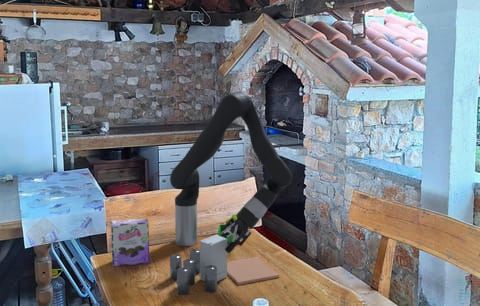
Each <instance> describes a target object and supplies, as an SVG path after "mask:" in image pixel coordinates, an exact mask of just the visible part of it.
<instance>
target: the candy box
mask: <svg viewBox="0 0 480 306" xmlns="http://www.w3.org/2000/svg"><path fill="white" fill-rule="evenodd" d="M149 227H150V226H149V219H148V218H135V219H120V220H110V232H111V233H110V234H111V235H110V237H111V238H110V239H111V244H110V245H111V263H112V267H113V268H114V267H122V266H123V267H124V266H133V265H134V266H135V265H143V264H144V265H145V264H149V263H150V236H149V235H150V232H149V229H150V228H149Z"/></svg>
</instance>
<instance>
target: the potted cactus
mask: <svg viewBox="0 0 480 306" xmlns="http://www.w3.org/2000/svg"><path fill="white" fill-rule="evenodd" d="M236 215H237V214H233V215H231V217H229V218H226V220H225V224H223V223H221V224H219V226H218V229H217V235H218V236H221V234H222V230H221V229H222V228H223V227H224V226H225V225H226V223H227V222H228V221H229V220H230V219H231V218H233V219H234V220H237V217H236ZM225 229H227V227H226V228H225ZM228 233H229V232H228ZM233 237H234V236H233V235H230V236H228V237H227V238H226V239H227V244H230V242H231V241H232V240H233Z"/></svg>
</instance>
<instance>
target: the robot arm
mask: <svg viewBox="0 0 480 306" xmlns="http://www.w3.org/2000/svg"><path fill="white" fill-rule="evenodd" d="M258 114H259V113H258V111H257V110H256V107H255V104H254V102H253V100H252V97H251V96H250V95H249V94H248V93H247V92H246V91H242V90H241V91H234V92H232V93H228V94H225V96H223V98H222V99H221V101H220V102H219V105H218V106H217V107H216V110H215V112H214V113H213V116H212V117H211V118H210V120H209V122H208V123H207V124H206V125H205V127H204V128H203V129H202V131H201V132H200V134H199V135H198V137H197V138H196V140H195V141H194V142H193V144H192V146H191V147H190V148H189V149H188V151H187V152H186V154H185V156H184V157H183V158H182V159H181V161H180V162H178V164H177V165H176V166H175V167H174V168H173V169H172V171H171V173H170V176H169V177H170V178H169V182H170V185H171V187H173V188H174V189H176V190H181V191H180V192H179V193H178V194H177V195H176V197H175V198H174V214H175V216H174V218H175V219H174V221H175V222H174V223H175V224H174V225H175V228H174V229H175V244H176V245H177V246H181V247H191V246H195V245H196V244H197V243H198V199H199V196H200V195H199V194H200V174H199V170H198V168H200V167H201V166H203V165H204V164H205V163H207V162H208V161H209V160H210V159H212V158H213V157H214V156H215V155H216V153H217V152H218V151H219V149H220V148H221V147H222V144H223V143H224V138H225V134H226V131H228V128H229V127H230V126H231V125H232V123H234V122H235V120H237V119H239V118H241V120H243V122H244V124H245V126H246V128H247V130H248V133H249V138H250V140H249V141H250V144H251V147H252V150H253V153H254V154H255V155H256V157H257V159H258V161H259V163H260V164H261V165H262V166H263V167H264V168H266V171H267V172H268V173H269V177H268V178H267V179H266V180H265V182H264V184H262V185H261V187H260V188H259V189H258V190H257V191H255V193H254V194H253V196H251V198H250V199H248V200H247V201H246V203H244V205H243V206H242V207H241V208H240V210H239V211H238V212H237V213H236V214H235V215H236V217H237V220H234V219H233V218H231V217H230V218H231V219H230V220H229V221H228V222H227V223H226V222H225V224H226V225H225V226H224V227H223V228H222V229H221V230H222V234H221V237H224V238H227V237H228V236H230V235H233V236H234V237H233V240H232V241H231V242H230V243H228V244H227V247H226V248H225V251H227V254H231V253H232V251H233V250H234V249H235V248H236V247H237V246H239V247H242V246H243V245H244V243H245V242H246V241H247V239H248V238H249V237H250V236H251V234H252V231H250V230H252V229H254V227H255V226H256V225H257V223H258V222H260V220H261V219H262V218H263V216H264V215H265V214H266V212H267V211H268V209H269V208H270V207H271V206H272V205H273V203H274V202H275V201H276V199H277V197H278V196H279V195H280V194H281V192H282V191H283V190H284V189H285V188H286V187H288V186H290V185H291V183H292V181H293V175H292V172H291V170H290V168H289V167H288V165H287V164H286V163H285V162H284V160H283V159H282V158H281V157H280V156H279V153H278V152H277V150H276V148H275V146H274V144H272V142H271V140H270V138H269V136H268V134H267V132H266V130H265V128H264V126H263V124H262V122H261V120H260V116H259V115H258ZM226 227H227V229H225V228H226ZM249 229H250V230H249ZM228 232H229V233H228Z"/></svg>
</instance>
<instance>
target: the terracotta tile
mask: <svg viewBox="0 0 480 306" xmlns="http://www.w3.org/2000/svg"><path fill="white" fill-rule="evenodd" d="M227 276H228V277H230V279H232V280H233V281H234V282H235V284H237V286H241V285H246V284H250V283H256V282H261V281H262V282H263V281H266V280H273V279H277V278H280V274H279V272H277V271H275V270H274V269H273V268H272V267H270V266H269V264H267V263H266V262H265V261H263V260H262V259H261V258H260V257H259V256H253V257H248V258H242V259H237V260H236V259H235V260H230V261H227Z"/></svg>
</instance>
